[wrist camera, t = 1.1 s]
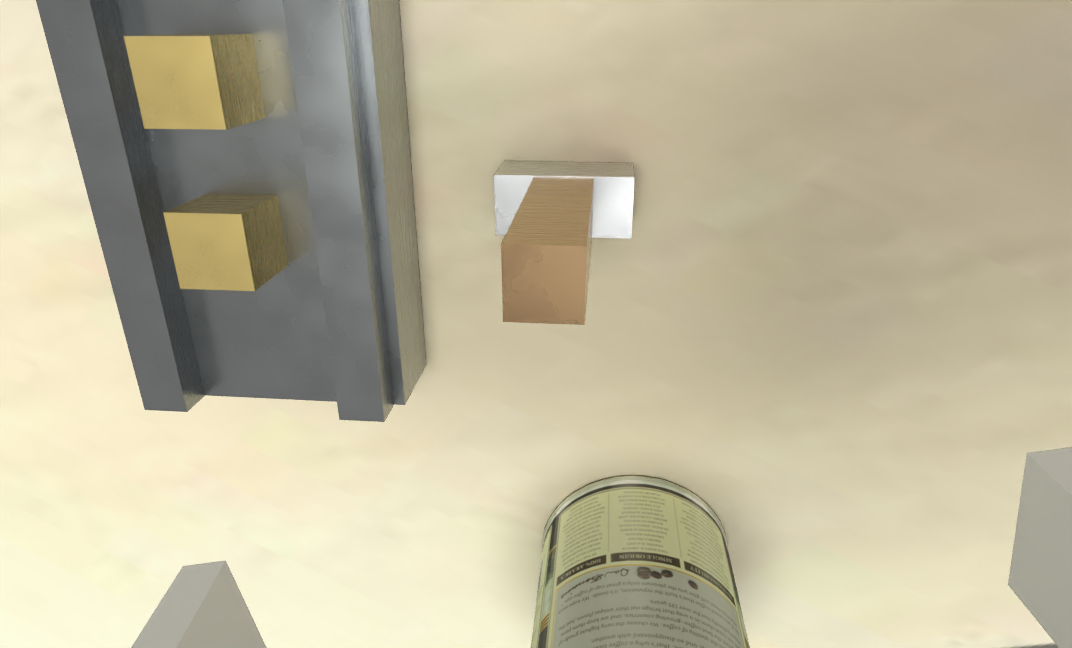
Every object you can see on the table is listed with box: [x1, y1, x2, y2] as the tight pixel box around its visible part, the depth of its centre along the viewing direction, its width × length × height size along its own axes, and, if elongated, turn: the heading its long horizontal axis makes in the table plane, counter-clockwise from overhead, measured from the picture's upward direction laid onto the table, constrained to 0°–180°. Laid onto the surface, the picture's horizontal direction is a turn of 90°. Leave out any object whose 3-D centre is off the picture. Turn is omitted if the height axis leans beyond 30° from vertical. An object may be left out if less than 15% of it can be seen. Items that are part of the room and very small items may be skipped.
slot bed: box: [36, 0, 426, 422], centre depth 29 cm, size 12×20×6 cm, turn 0°
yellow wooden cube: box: [124, 34, 265, 130], centre depth 25 cm, size 3×3×3 cm
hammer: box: [494, 161, 635, 325], centre depth 25 cm, size 6×2×12 cm, turn 90°
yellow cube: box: [163, 194, 288, 291], centre depth 27 cm, size 3×3×3 cm
